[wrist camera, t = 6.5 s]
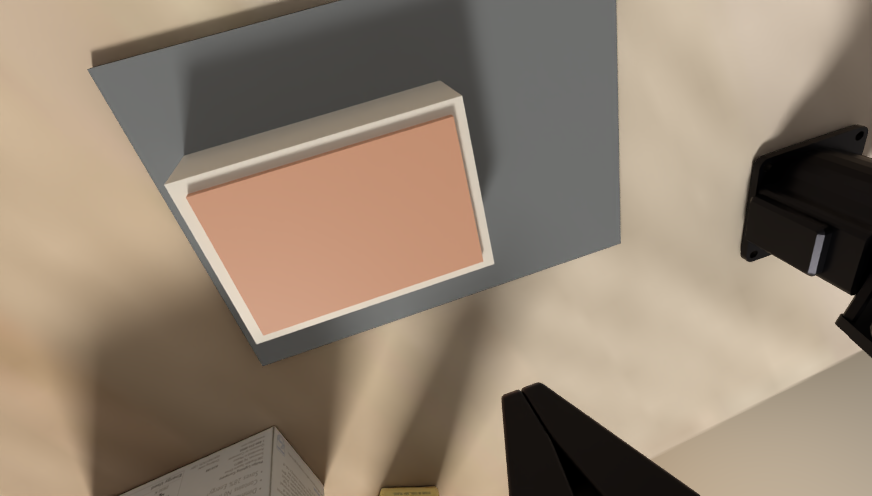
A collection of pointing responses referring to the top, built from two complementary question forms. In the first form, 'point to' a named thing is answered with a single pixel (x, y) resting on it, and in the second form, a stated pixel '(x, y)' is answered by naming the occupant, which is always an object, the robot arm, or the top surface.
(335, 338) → the rubber mat
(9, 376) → the top surface
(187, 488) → the light bulb box
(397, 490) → the candy box
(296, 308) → the ivory tile
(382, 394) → the top surface
